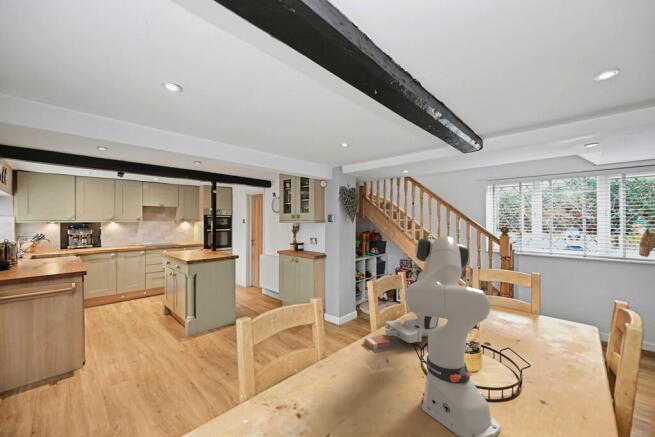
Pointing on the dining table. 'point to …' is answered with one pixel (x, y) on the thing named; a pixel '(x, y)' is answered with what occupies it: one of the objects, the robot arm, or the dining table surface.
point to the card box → (377, 342)
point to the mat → (393, 345)
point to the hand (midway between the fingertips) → (387, 332)
